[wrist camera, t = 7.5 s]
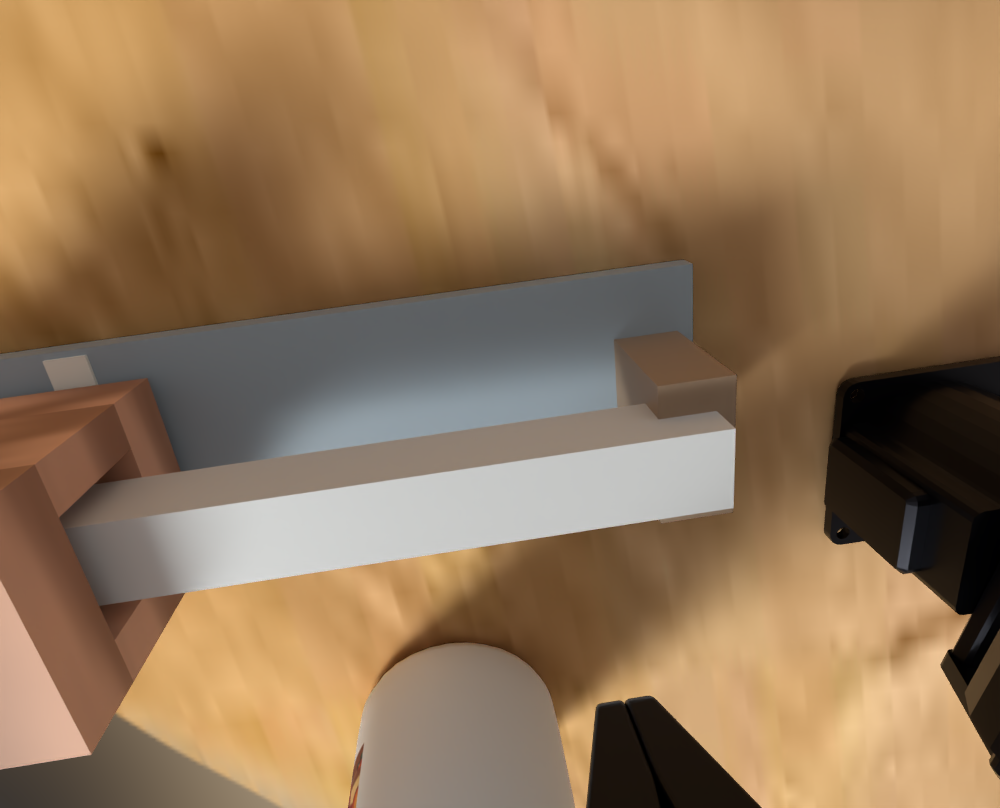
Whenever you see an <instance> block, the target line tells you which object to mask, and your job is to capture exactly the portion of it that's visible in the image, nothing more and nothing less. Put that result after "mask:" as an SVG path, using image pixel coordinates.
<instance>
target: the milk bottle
mask: <svg viewBox="0 0 1000 808" xmlns="http://www.w3.org/2000/svg"><path fill="white" fill-rule="evenodd" d="M348 808H575V804H574V799H573V794H572V789H571V784H570V780H569V775H568V770H567V765H566V760H565V756H564V751H563V746H562V741H561V737H560V732H559V727H558V722H557V718H556V714H555V710H554V706H553V702H552V699H551V695H550V693H549V691H548V688H547V687H546V685H545V683H544V682H543V680H542V679H541V678H540V677H539V675H538V674H537V673H536V672H535V671H534V670H533V669H532V668H531V667H530V665H529V664H527V663H526V662H524V661H523V660H521V659H520V658H519V657H517V656H516V655H514V654H511V653H509V652H507V651H505V650H503V649H501V648H497V647H492V646H489V645H485V644H476V643H467V642H464V643H448V644H443V645H439V646H434V647H429V648H427V649H424V650H422V651H419V652H417V653H414V654H411V655H410V656H408V657H407V658H405V659H403V660H402V661H400V662H398V663H396V664H395V665H394V666H393V667H392V668H391V669H390V670H389V671H388V672H386V673H385V674H384V675H383V677H382V678H381V680H380V681H379V682H378V683H377V685H376V686H375V687H374V689H373V690H372V692H371V693H370V695H369V697H368V699H367V701H366V703H365V706H364V709H363V713H362V718H361V724H360V729H359V735H358V741H357V748H356V755H355V762H354V769H353V776H352V783H351V791H350V798H349V805H348Z"/></svg>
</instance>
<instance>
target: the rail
mask: <svg viewBox="0 0 1000 808" xmlns="http://www.w3.org/2000/svg"><path fill="white" fill-rule="evenodd" d="M144 378H148V381H149V384H150V387H151V389H152V392H153V395H154V398H155V401H156V403H157V406H158V409H159V412H160V415H161V417H162V420H163V423H164V426H165V429H166V431H167V434H168V437H169V440H170V443H171V446H172V448H173V451H174V454H175V457H176V460H177V462H178V465H179V468H180V471H181V472H175V473H168V474H161V475H155V476H148V477H141V478H134V479H127V480H120V481H114V482H107V483H100V484H94V485H93V486H92V487H91V488H89V489H88V490H87V491H86V492H85V493H84V494H83V495H82V496H81V497H80V498H79V499H78V500H77V501H76V502H75V503H74V504H73V505H72V506H71V507H70V508H69V509H68V510H66V511H65V512H64V513H63V514H62V515H61V516H60V517H59V519H60V521H61V523H62V526H63V528H64V530H65V532H66V534H67V537H68V539H69V541H70V543H71V545H72V548H73V550H74V552H75V554H76V556H77V559H78V561H79V563H80V565H81V567H82V569H83V572H84V574H85V576H86V578H87V580H88V583H89V585H90V587H91V589H92V591H93V594H94V596H95V598H96V600H97V602H98V605H99V606H102V605H108V604H115V603H121V602H128V601H134V600H140V599H147V598H153V597H160V596H166V595H173V594H179V593H186V592H192V591H199V590H205V589H212V588H218V587H225V586H231V585H238V584H244V583H251V582H257V581H264V580H270V579H277V578H283V577H290V576H296V575H303V574H309V573H316V572H322V571H329V570H335V569H342V568H348V567H354V566H361V565H367V564H374V563H380V562H387V561H393V560H400V559H406V558H413V557H419V556H426V555H432V554H439V553H445V552H452V551H458V550H465V549H471V548H478V547H484V546H491V545H497V544H504V543H510V542H517V541H523V540H530V539H536V538H543V537H549V536H556V535H562V534H569V533H575V532H581V531H588V530H594V529H601V528H607V527H614V526H620V525H627V524H633V523H640V522H646V521H653V520H659V521H660V522H661V523H667V522H674V521H680V520H687V519H693V518H700V517H706V516H713V515H719V514H726V513H732V512H733V508H734V473H735V435H736V428H735V422H736V384H737V375H736V374H735V373H734V372H732V371H731V370H730V369H728V368H727V367H725V366H724V365H723V364H721V363H720V362H719V361H717V360H716V359H715V358H713V357H712V356H711V355H709V354H708V353H707V352H705V351H704V350H703V349H701V348H700V347H699V346H697V345H696V344H695V343H693V264H692V263H690V262H688V261H685V260H676V261H669V262H661V263H654V264H647V265H640V266H632V267H625V268H618V269H611V270H604V271H596V272H589V273H582V274H575V275H567V276H560V277H553V278H546V279H538V280H531V281H524V282H517V283H509V284H502V285H495V286H488V287H481V288H473V289H466V290H459V291H452V292H444V293H437V294H430V295H423V296H415V297H408V298H401V299H394V300H386V301H379V302H372V303H365V304H358V305H350V306H343V307H336V308H329V309H321V310H314V311H307V312H300V313H292V314H285V315H278V316H271V317H263V318H256V319H249V320H242V321H235V322H227V323H220V324H213V325H206V326H198V327H191V328H184V329H177V330H169V331H162V332H155V333H148V334H140V335H133V336H126V337H119V338H112V339H104V340H97V341H90V342H83V343H75V344H68V345H61V346H54V347H46V348H39V349H32V350H25V351H18V352H10V353H3V354H0V399H2V398H9V397H16V396H23V395H30V394H37V393H44V392H51V391H58V390H65V389H73V388H80V387H87V386H94V385H101V384H108V383H115V382H122V381H129V380H136V379H144Z"/></svg>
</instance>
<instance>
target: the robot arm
mask: <svg viewBox="0 0 1000 808" xmlns="http://www.w3.org/2000/svg"><path fill="white" fill-rule="evenodd" d="M857 389H858V392H857V394H856V395H855V396H854V397H853V398H850V397H851V394H852V393H853V392H854V391H855V390H857ZM824 503H825V505H826V513H825V524H824V533H825V535H826V536H827V537H828V538H829V539H830V540H831V541H832V542H833V543H835V544H848V543H854V542H861V541H865V542H866V543H867V544H869V545H870V546H871V547H872V548H873V549H874V550H875V551H876V552H877V553H878V554H880V555H881V556H882V557H883V558H884V559H885V560H886V561H887V562H888V563H889V564H890V565H892V566H893V567H894V568H895V569H896V570H898V571H899V572H900V573H902V574H907V573H912V574H914V575H915V576H916V577H917V578H918V579H919V580H920V581H922V582H923V583H924V584H925V585H926V586H927V587H928V588H929V589H931V590H932V591H933V592H934V593H935V594H936V595H937V596H938V597H940V598H941V599H942V600H943V601H944V602H945V603H946V604H947V605H949V606H950V607H951V608H952V609H953V610H954V611H955V612H957V613H958V614H959V615H966V614H971V616H970V618H969V620H968V622H967V624H966V626H965V628H964V630H963V631H962V633H961V635H960V637H959V639H958V641H957V643H956V645H955V647H954V649H951V650H948V651H947V653H946V655H945V657H944V659H943V661H942V663H941V668H942V670H943V671H944V673H945V675H946V677H947V679H948V680H949V682H950V684H951V686H952V687H953V689H954V691H955V693H956V695H957V696H958V698H959V700H960V702H961V703H962V705H963V707H964V709H965V711H966V712H967V714H968V716H969V718H970V720H971V721H972V723H973V725H974V727H975V728H976V730H977V732H978V734H979V736H980V737H981V739H982V741H983V743H984V744H985V746H986V748H987V750H988V752H989V753H990V755H991V758H990V759H989V762H990V766H991V767H992V769H993V770H994V772H995V774H996V775H997V777H998V778H999V779H1000V357H993V358H986V359H979V360H972V361H966V362H959V363H952V364H945V365H938V366H932V367H925V368H918V369H911V370H904V371H898V372H891V373H884V374H877V375H870V376H864V377H857V378H851V379H848V380H846V381H844V382H843V383H842V384H841V385H840V387H839V388H838V390H837V394H836V404H835V415H834V426H833V437H832V442H831V444H830V446H829V455H828V466H827V478H826V489H825V500H824ZM841 528H843V529H842V530H841V531H840V532H838V530H839V529H841ZM837 532H838V533H837ZM586 808H761V807H760V805H759V804H758V803H757V802H756V801H755V800H754V799H753V798H752V797H751V796H750V795H749V794H748V793H747V792H746V791H745V790H744V789H743V788H742V787H741V786H740V785H739V784H738V783H737V782H736V781H735V780H734V779H733V778H732V777H731V776H730V775H729V774H728V773H727V772H726V771H725V770H724V769H723V768H722V767H721V765H720V764H719V763H718V762H717V761H716V760H715V759H714V758H713V757H712V756H711V755H710V754H709V753H708V752H707V751H706V750H705V749H704V748H703V747H702V746H701V745H700V744H699V743H698V742H697V741H696V740H695V739H694V738H693V737H692V736H691V735H690V734H689V733H688V732H687V731H686V730H685V729H684V728H683V727H682V725H681V724H680V723H679V722H678V721H677V720H676V719H675V718H674V717H673V716H672V715H671V714H670V713H669V712H668V711H667V710H666V709H665V708H664V707H663V706H662V705H661V704H660V703H659V702H658V701H657V700H656V699H655V698H654V697H651V696H643V697H637V698H631V699H628V700H626V701H625V704H624V703H623V702H622V701H612V702H606V703H600V704H598V705H597V707H596V711H595V721H594V732H593V742H592V753H591V763H590V773H589V784H588V794H587V805H586Z"/></svg>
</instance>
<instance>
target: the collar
mask: <svg viewBox="0 0 1000 808" xmlns="http://www.w3.org/2000/svg"><path fill="white" fill-rule="evenodd" d="M175 472H181V471H180V468H179V465H178V462H177V460H176V457H175V454H174V451H173V448H172V446H171V443H170V440H169V437H168V434H167V431H166V429H165V426H164V423H163V420H162V417H161V415H160V412H159V409H158V406H157V403H156V401H155V398H154V395H153V392H152V389H151V387H150V384H149V381H148V378H144V379H136V380H129V381H122V382H115V383H108V384H101V385H94V386H87V387H80V388H73V389H65V390H58V391H51V392H44V393H37V394H30V395H23V396H16V397H9V398H2V399H0V769H5V768H12V767H18V766H24V765H30V764H37V763H43V762H48V761H55V760H61V759H67V758H73V757H79V756H86V755H91V754H92V752H93V751H94V749H95V747H96V745H97V744H98V742H99V740H100V739H101V737H102V735H103V733H104V732H105V730H106V728H107V726H108V724H109V723H110V721H111V720H112V718H113V716H114V714H115V713H116V711H117V709H118V708H119V706H120V704H121V702H122V701H123V699H124V697H125V695H126V694H127V692H128V690H129V689H130V687H131V685H132V683H133V682H134V680H135V678H136V676H137V675H138V673H139V671H140V670H141V668H142V666H143V664H144V663H145V661H146V659H147V657H148V656H149V654H150V652H151V651H152V649H153V647H154V645H155V644H156V642H157V640H158V639H159V637H160V635H161V633H162V632H163V630H164V628H165V626H166V625H167V623H168V621H169V620H170V618H171V616H172V614H173V613H174V611H175V609H176V607H177V606H178V604H179V602H180V601H181V599H182V597H183V595H184V594H185V593H179V594H173V595H166V596H160V597H153V598H147V599H140V600H134V601H128V602H121V603H115V604H108V605H102V606H99V605H98V602H97V600H96V598H95V596H94V594H93V591H92V589H91V587H90V585H89V583H88V580H87V578H86V576H85V574H84V572H83V569H82V567H81V565H80V563H79V561H78V559H77V556H76V554H75V552H74V550H73V548H72V545H71V543H70V541H69V539H68V537H67V534H66V532H65V530H64V528H63V526H62V523H61V521H60V519H59V517H60V516H61V515H62V514H63V513H64V512H65V511H66V510H68V509H69V508H70V507H71V506H72V505H73V504H74V503H75V502H76V501H77V500H78V499H79V498H80V497H81V496H82V495H83V494H84V493H85V492H86V491H87V490H88V489H89V488H91V487H92V486H93V485H94V484H100V483H107V482H114V481H120V480H127V479H134V478H141V477H148V476H155V475H161V474H168V473H175Z"/></svg>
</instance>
